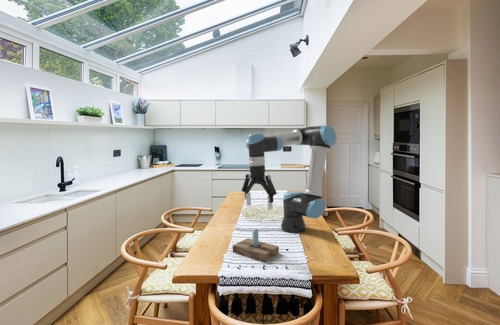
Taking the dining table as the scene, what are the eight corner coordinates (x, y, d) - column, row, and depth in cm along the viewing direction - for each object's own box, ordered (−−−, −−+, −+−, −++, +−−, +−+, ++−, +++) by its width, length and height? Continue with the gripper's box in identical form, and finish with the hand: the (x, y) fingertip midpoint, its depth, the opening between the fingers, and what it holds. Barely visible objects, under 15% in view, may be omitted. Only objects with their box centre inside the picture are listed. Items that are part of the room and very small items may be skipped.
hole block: (247, 244, 150) (247, 238, 150) (278, 253, 137) (278, 246, 137) (232, 252, 141) (232, 245, 141) (264, 262, 128) (264, 255, 128)
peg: (255, 251, 141) (254, 228, 140) (260, 252, 139) (259, 229, 138) (251, 253, 139) (250, 229, 138) (256, 254, 137) (255, 230, 136)
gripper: (233, 165, 142) (235, 205, 144) (273, 167, 126) (275, 212, 128) (243, 163, 147) (245, 202, 149) (282, 165, 131) (284, 208, 133)
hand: (259, 207), depth 139 cm, fingers open, 13 cm apart
